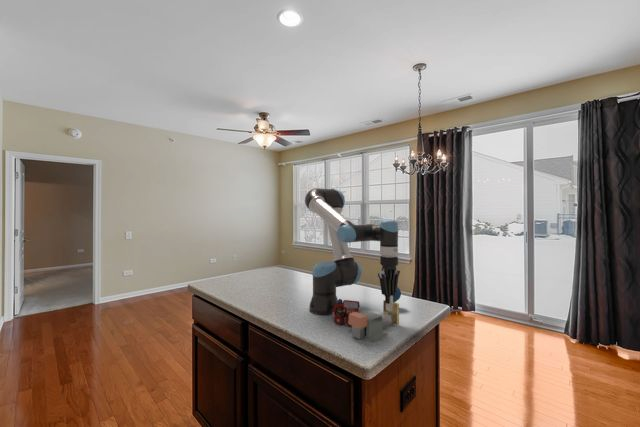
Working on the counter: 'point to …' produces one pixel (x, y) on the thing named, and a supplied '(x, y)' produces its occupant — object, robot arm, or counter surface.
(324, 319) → the counter surface
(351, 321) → the block
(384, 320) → the shaft
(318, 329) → the counter surface
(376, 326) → the housing
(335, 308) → the toy fire truck
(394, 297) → the teal egg
